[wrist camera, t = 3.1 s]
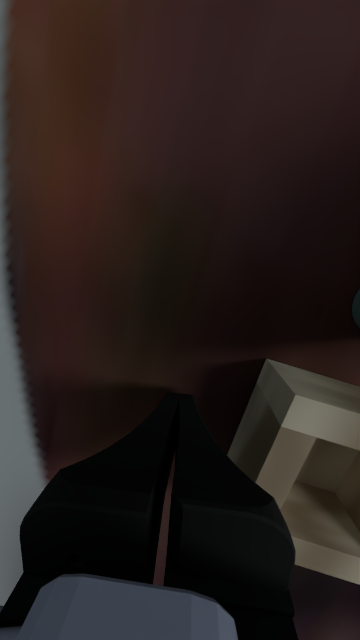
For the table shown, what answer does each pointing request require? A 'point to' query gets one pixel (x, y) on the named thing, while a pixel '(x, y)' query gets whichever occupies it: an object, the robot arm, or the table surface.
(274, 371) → the beige hollow square block
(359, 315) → the dowel
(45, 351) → the table surface
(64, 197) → the table surface
